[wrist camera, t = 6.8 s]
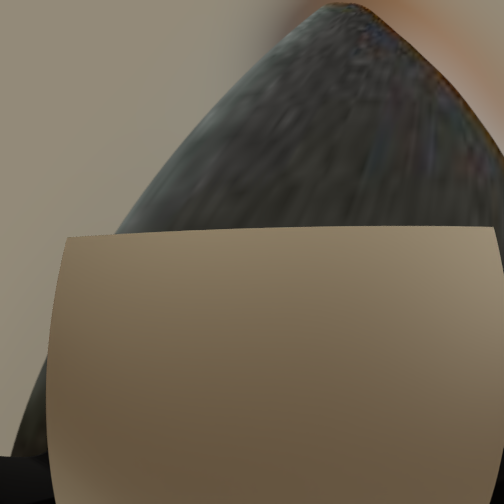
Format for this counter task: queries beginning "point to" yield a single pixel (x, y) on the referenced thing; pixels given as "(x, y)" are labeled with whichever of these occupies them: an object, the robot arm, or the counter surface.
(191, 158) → the counter surface
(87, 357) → the beech post
